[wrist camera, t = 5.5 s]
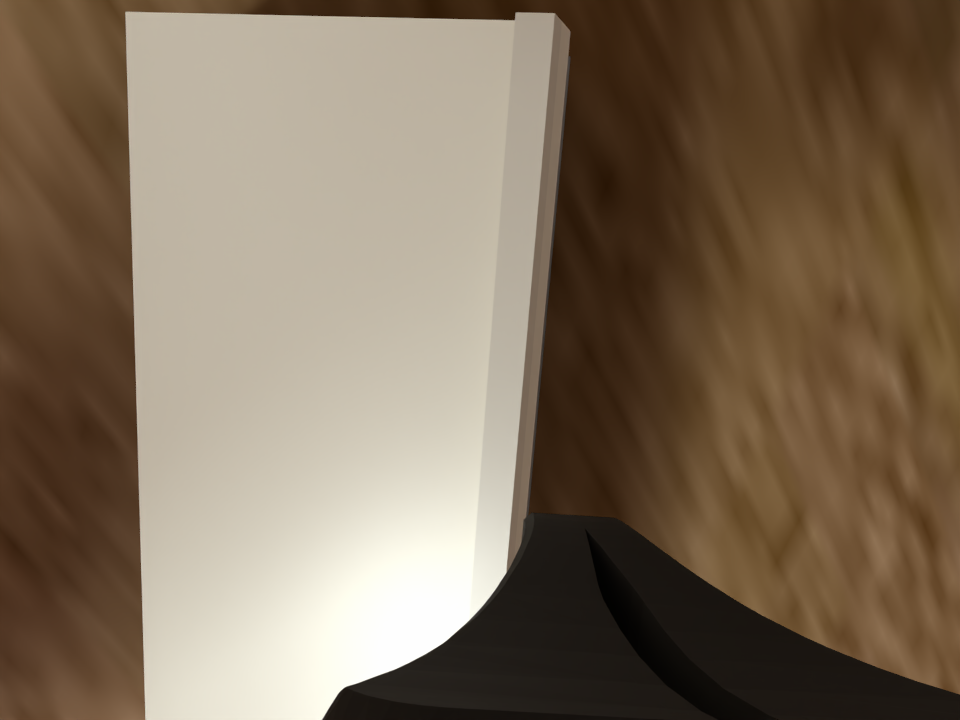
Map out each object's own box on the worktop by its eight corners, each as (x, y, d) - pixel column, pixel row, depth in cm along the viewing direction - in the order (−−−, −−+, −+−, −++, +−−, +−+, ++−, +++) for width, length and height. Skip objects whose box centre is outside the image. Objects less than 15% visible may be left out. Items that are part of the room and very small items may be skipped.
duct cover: (482, 990, 18) (464, 1055, 16) (172, 884, 20) (133, 934, 18) (570, 31, 13) (555, 13, 12) (154, 21, 15) (101, 4, 14)
